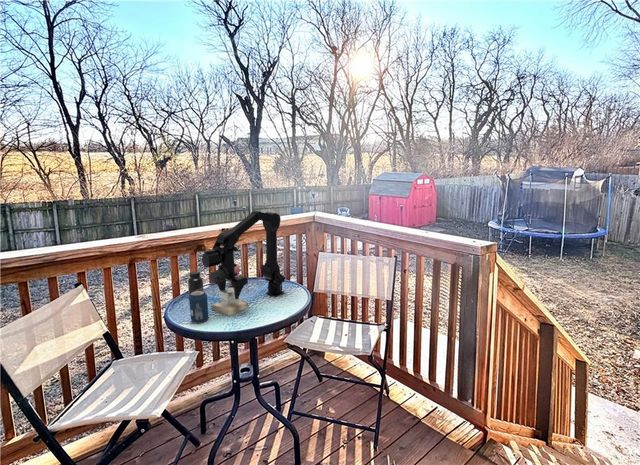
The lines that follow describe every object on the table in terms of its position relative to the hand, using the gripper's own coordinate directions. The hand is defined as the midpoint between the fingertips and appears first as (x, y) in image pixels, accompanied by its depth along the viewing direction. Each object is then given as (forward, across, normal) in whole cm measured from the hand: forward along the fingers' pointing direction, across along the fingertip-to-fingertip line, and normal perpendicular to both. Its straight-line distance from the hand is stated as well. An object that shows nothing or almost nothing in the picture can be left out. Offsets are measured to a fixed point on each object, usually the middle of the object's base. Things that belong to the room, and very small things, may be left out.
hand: (229, 296), depth 164 cm
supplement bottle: (+6, -25, 0) cm, 26 cm away
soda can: (+6, -1, -15) cm, 16 cm away
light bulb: (+6, -22, +20) cm, 30 cm away
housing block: (+3, 0, 0) cm, 3 cm away
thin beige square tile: (+6, 0, 0) cm, 6 cm away
